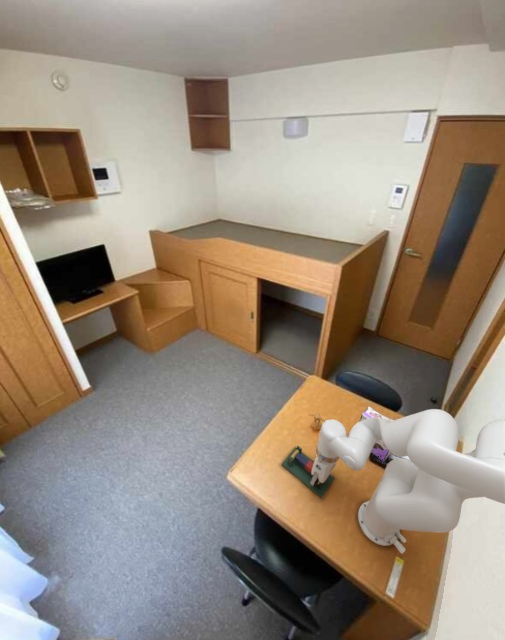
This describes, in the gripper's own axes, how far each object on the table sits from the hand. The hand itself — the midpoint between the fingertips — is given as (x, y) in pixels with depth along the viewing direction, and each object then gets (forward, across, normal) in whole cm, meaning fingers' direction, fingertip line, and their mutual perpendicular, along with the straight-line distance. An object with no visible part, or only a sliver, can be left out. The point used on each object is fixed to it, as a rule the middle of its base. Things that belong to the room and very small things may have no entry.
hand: (319, 478), depth 102 cm
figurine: (+2, +18, +13) cm, 22 cm away
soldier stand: (+2, 0, +5) cm, 5 cm away
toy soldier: (-1, 0, +5) cm, 5 cm away
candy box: (+2, +27, -8) cm, 28 cm away
